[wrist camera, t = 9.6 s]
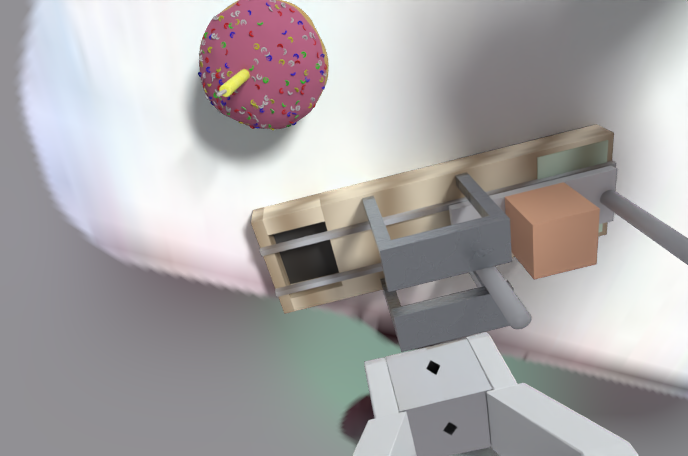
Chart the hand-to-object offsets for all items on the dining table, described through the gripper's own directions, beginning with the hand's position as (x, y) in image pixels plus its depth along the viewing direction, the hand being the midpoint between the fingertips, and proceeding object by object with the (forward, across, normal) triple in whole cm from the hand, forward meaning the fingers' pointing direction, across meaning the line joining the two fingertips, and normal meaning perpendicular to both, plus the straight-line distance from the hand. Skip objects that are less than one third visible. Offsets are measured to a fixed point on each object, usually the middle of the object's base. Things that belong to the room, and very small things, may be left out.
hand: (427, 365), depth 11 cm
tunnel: (+27, -5, +13) cm, 30 cm away
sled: (+26, -14, +13) cm, 32 cm away
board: (+29, -7, +13) cm, 33 cm away
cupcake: (+29, +4, -4) cm, 30 cm away
